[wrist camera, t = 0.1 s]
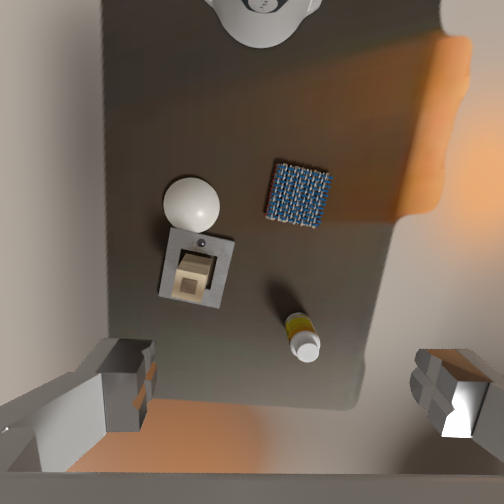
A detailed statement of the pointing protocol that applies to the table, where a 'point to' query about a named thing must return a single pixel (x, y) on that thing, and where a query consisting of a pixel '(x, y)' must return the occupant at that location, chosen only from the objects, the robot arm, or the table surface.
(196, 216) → the pad
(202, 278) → the block
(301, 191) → the woven mat
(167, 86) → the table surface
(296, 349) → the supplement bottle
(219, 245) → the rail plate
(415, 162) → the table surface
